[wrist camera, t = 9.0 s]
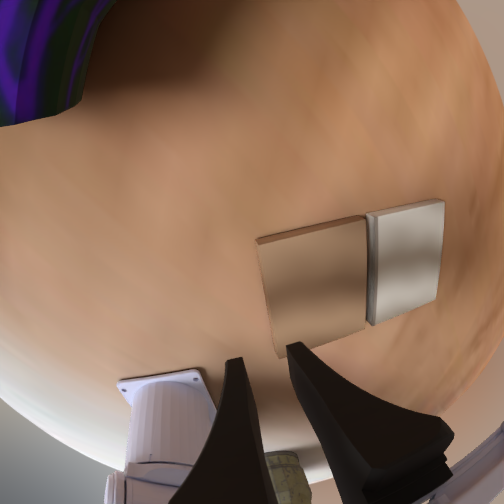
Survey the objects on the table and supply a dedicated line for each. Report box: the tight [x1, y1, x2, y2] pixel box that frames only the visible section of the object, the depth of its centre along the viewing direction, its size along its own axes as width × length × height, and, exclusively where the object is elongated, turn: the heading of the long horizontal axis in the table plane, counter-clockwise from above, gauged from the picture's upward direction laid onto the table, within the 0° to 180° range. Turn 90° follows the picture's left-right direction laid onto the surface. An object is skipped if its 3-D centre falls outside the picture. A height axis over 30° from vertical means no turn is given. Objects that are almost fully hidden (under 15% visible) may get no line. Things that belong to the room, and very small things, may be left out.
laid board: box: [366, 199, 445, 326], centre depth 22 cm, size 10×8×1 cm
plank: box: [255, 215, 367, 359], centre depth 21 cm, size 10×8×1 cm
